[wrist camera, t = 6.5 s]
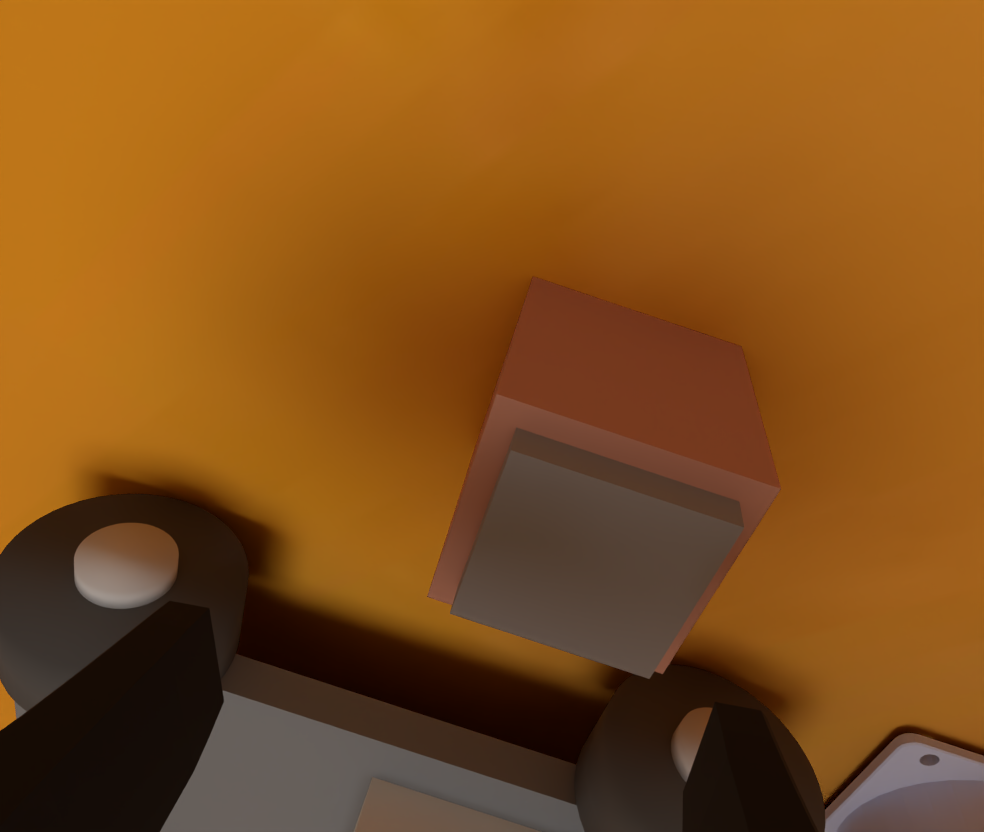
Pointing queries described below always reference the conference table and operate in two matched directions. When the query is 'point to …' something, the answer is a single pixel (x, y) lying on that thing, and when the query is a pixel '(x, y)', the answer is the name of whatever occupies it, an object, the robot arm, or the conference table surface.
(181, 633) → the robot arm
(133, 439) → the conference table surface
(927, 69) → the conference table surface
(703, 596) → the brown capped block
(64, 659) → the loose wheel
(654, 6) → the conference table surface
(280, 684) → the chassis
